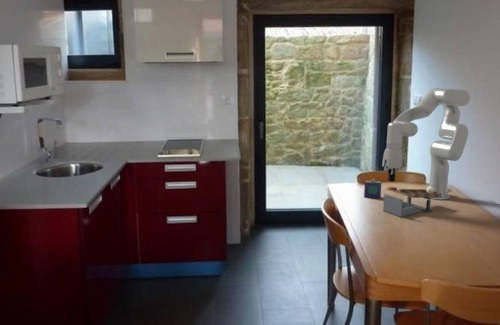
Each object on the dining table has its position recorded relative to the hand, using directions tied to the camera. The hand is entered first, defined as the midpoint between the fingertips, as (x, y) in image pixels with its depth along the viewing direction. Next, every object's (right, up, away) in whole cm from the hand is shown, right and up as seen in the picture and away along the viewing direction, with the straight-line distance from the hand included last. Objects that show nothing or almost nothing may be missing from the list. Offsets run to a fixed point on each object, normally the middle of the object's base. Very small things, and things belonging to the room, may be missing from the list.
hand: (391, 181), depth 273 cm
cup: (+2, -16, -9) cm, 18 cm away
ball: (+20, -5, 0) cm, 21 cm away
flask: (-6, -10, +18) cm, 22 cm away
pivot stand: (+13, -14, -3) cm, 20 cm away
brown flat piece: (+11, -7, -1) cm, 14 cm away
